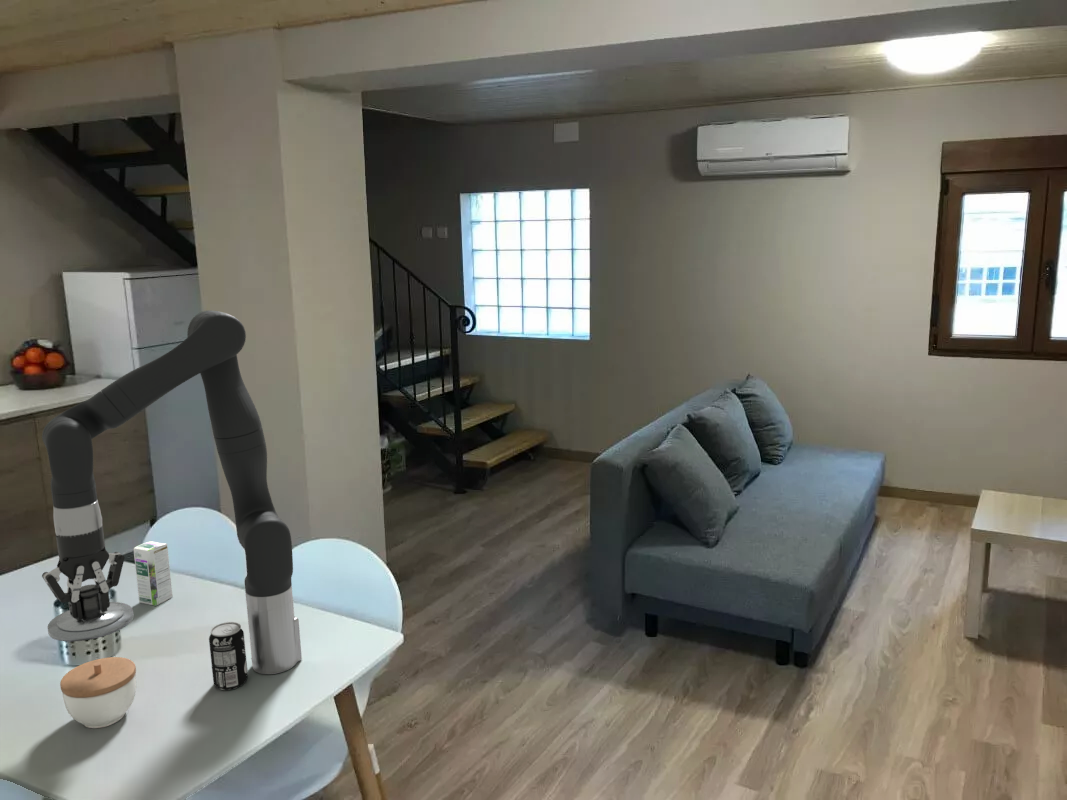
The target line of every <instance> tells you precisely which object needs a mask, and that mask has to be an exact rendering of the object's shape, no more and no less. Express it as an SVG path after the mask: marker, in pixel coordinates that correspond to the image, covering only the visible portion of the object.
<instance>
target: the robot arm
mask: <svg viewBox="0 0 1067 800" xmlns="http://www.w3.org/2000/svg"><path fill="white" fill-rule="evenodd" d="M193 316H194V317H193V318H192V319H191V320H190V322H189V323H188V324H189V325H188V326H187V337H186V338H185V339H184V340H183V341H182V342H180V343H179V344H178V345H177V346H175V347H174V348H173V349H172V348H171V350H169V351H168V352H166V353H164V354H163V355H161V356H159V357H157V358H155V359H154V360H151V361H150V362H147V363H145V364H144V365H142V366H138V367H137V368H135V369H133V370H131V371H130V372H128V373H126V374H124V375H122V376H121V377H119V378H118V379H116V380H114V381H113V382H111V383H110V384H108V385H107V386H105V387H103V388H102V389H101V390H99V391H98V392H96V393H95V394H94V395H93V396H91V397H89V398H88V399H86V400H84V401H82V402H80V403H78V404H75V406H72V407H70V408H68V409H66V410H64V411H63V412H61V413H60V414H59V413H58V415H56V416H55V417H53V418H52V419H51V420H50V421H49V422H48V423H46V425H45V426H44V428H43V430H42V435H41V438H42V442H43V445H44V446H45V448H46V452H47V455H48V461H49V462H48V463H49V467H50V472H51V479H50V492H51V499H52V505H53V525H54V532H55V539H56V547H57V553H58V563H57V565H56V567H55V568H54V569H52V570H50V571H44V572H43V573H42V575H41V578H42V579H43V580H44V582H45V583H46V585H47V587H48V588H49V589H50V591H51V593H52V594H53V595H54V597H55V598H56V599H57V600H59V602H61V603H65V602H67V603H68V607H69V610H70V614H71V616H72V617H73V618H75V619H77V620H78V621H79V620H82V619H83V617H82V610H81V603H80V601H79V592H80V589H81V587H82V586H83V585H82V583H83V582H85V581H88V580H93V582H94V584H95V585H99V587H100V593H98V596H99V604H100V611H102V612H106V611H107V608H108V607H109V606H110V602H111V601H110V595H109V592H110V591H109V590H111V589H112V588H113V587H117V586H119V582H120V578H121V574H122V570H123V566H124V563H125V559H126V557H125V555H123V554H122V553H120V552H119V551H115V552H113V553H112V552H108V550H107V549H106V541H105V536H104V526H103V516H102V513H101V512H102V511H101V507H100V505H99V500H98V492H97V485H96V479H95V475H94V448H93V439H94V438H96V437H98V436H99V435H101V434H102V433H104V432H106V431H107V430H112V429H113V430H114V429H116V428H119V427H120V426H122V425H124V424H126V423H127V422H128V421H130V420H131V419H132V418H134V417H136V416H137V415H138V414H140V413H141V412H142V411H144V410H145V409H147V408H148V407H149V406H151V405H152V404H154V403H156V401H158V400H159V399H161V398H163V397H164V396H165V395H167V394H168V393H169V392H172V391H173V390H174V389H176V388H177V387H179V386H180V385H182V384H184V383H185V382H187V381H189V380H190V379H192V378H194V377H196V376H197V375H199V374H200V377H201V379H202V384H203V386H204V387H203V388H204V393H205V398H206V404H207V409H208V413H209V420H210V424H211V429H212V435H213V439H214V443H215V447H216V451H217V454H218V458H219V461H220V465H221V468H222V470H223V473H224V477H225V480H226V482H227V485H228V487H229V490H230V495H231V499H232V503H233V511H234V519H235V530H236V535H237V537H236V538H237V540H238V542H239V545H240V546H241V547H242V548H243V549H244V554H245V565H246V576H245V578H244V589H245V590H244V591H245V602H246V613H247V620H248V631H249V632H248V633H249V634H248V635H249V643H250V645H249V646H250V654H251V655H250V656H251V658H250V659H251V664H252V665H251V666H252V669H253V671H254V672H255V673H257V674H261V675H274V674H275V675H276V674H279V673H284V672H286V671H288V670H291V669H292V668H293V667H294V666H296V665H297V664H298V662H300V661H301V660H302V659H303V657H302V645H301V634H300V631H301V630H300V620H299V618H298V617H296V616H295V609H294V608H295V607H294V597H293V586H292V585H293V584H292V577H293V573H294V564H293V563H294V561H293V545H292V544H293V543H292V534H291V531H290V529H289V527H288V526H287V524H286V523H285V522H284V520H282V518H280V517H279V515H278V513H277V512H276V509H275V505H274V503H273V500H272V497H271V494H270V491H269V490H270V489H269V487H268V481H267V480H268V479H267V477H268V476H267V473H268V450H267V444H266V443H267V442H266V437H265V434H264V430H263V426H262V425H263V424H262V421H261V419H260V416H259V413H258V410H257V408H256V405H255V403H254V402H253V399H252V397H251V395H250V393H249V391H248V389H247V387H246V384H245V383H244V380H243V377H242V375H241V374H242V373H241V371H240V366H239V360H238V354H239V353H240V352H241V351H242V350H243V348H244V346H245V343H246V338H247V333H246V330H245V327H244V325H243V323H242V321H240V320H239V319H238V318H236V316H234V315H231V314H229V313H227V312H224V311H218V310H210V309H209V310H204V311H201V312H198V313H197V314H195V315H193ZM107 563H108V564H110V565H109V570H108V572H107V575H106V576H107V578H106V577H105V575H104V572H103V571H104V568H105V566H106V564H107ZM61 574H63V575H64V576H66V578H67V582H66V585H67V590H66V592H65V591H64V590H63V588H62V587H61V586H60V583H59V581H60V579H61V578H60V575H61Z"/></svg>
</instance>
